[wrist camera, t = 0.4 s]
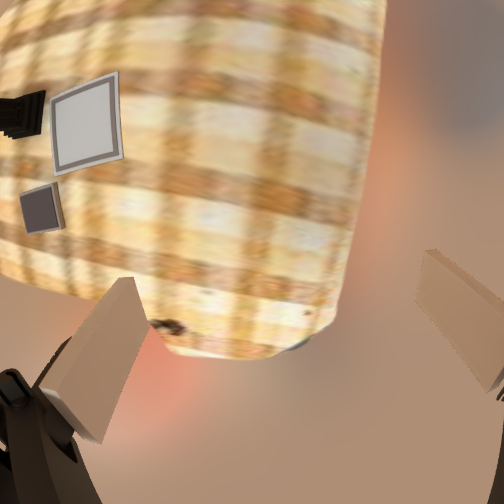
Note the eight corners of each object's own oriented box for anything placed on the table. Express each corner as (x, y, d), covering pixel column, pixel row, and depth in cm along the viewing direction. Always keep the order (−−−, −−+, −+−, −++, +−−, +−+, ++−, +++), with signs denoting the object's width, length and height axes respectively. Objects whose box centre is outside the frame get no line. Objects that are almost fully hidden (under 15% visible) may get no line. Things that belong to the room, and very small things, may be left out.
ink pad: (22, 192, 35) (17, 194, 34) (56, 181, 35) (51, 183, 34) (31, 233, 38) (26, 236, 37) (65, 227, 38) (60, 229, 37)
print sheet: (50, 98, 30) (48, 98, 29) (118, 71, 29) (117, 70, 29) (55, 176, 35) (54, 176, 34) (123, 158, 35) (122, 158, 34)
